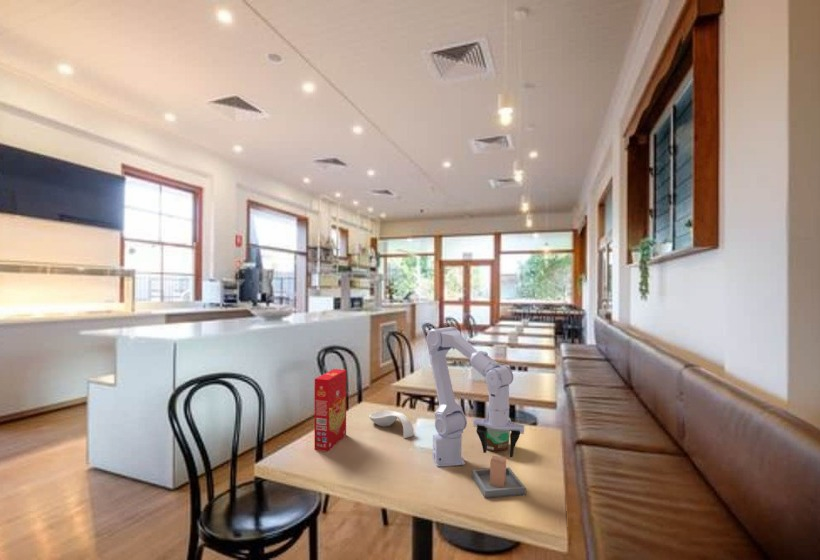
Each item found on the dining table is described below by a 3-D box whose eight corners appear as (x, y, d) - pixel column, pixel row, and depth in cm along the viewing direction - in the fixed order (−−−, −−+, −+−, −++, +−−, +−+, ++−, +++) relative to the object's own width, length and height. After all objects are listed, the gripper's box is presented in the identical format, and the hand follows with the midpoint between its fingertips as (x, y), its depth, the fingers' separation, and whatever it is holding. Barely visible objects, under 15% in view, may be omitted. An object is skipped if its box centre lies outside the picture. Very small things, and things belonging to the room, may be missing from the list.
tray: (485, 498, 112) (485, 491, 112) (472, 476, 124) (472, 469, 124) (525, 494, 114) (525, 488, 114) (509, 473, 126) (509, 467, 126)
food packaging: (328, 451, 140) (328, 379, 140) (314, 449, 142) (314, 378, 141) (346, 434, 155) (346, 369, 154) (333, 433, 156) (333, 368, 155)
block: (490, 485, 118) (490, 461, 118) (492, 478, 122) (492, 455, 122) (503, 487, 117) (504, 463, 116) (505, 481, 120) (506, 457, 120)
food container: (497, 457, 137) (497, 428, 137) (483, 450, 142) (483, 422, 142) (519, 447, 145) (519, 419, 145) (505, 441, 150) (505, 414, 149)
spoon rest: (364, 422, 168) (364, 405, 168) (387, 416, 175) (387, 400, 175) (397, 441, 149) (397, 422, 149) (422, 434, 156) (422, 415, 156)
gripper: (525, 406, 120) (524, 452, 120) (476, 400, 125) (476, 444, 125) (523, 414, 113) (522, 462, 114) (472, 407, 118) (471, 453, 119)
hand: (498, 453), depth 119 cm, fingers open, 7 cm apart
